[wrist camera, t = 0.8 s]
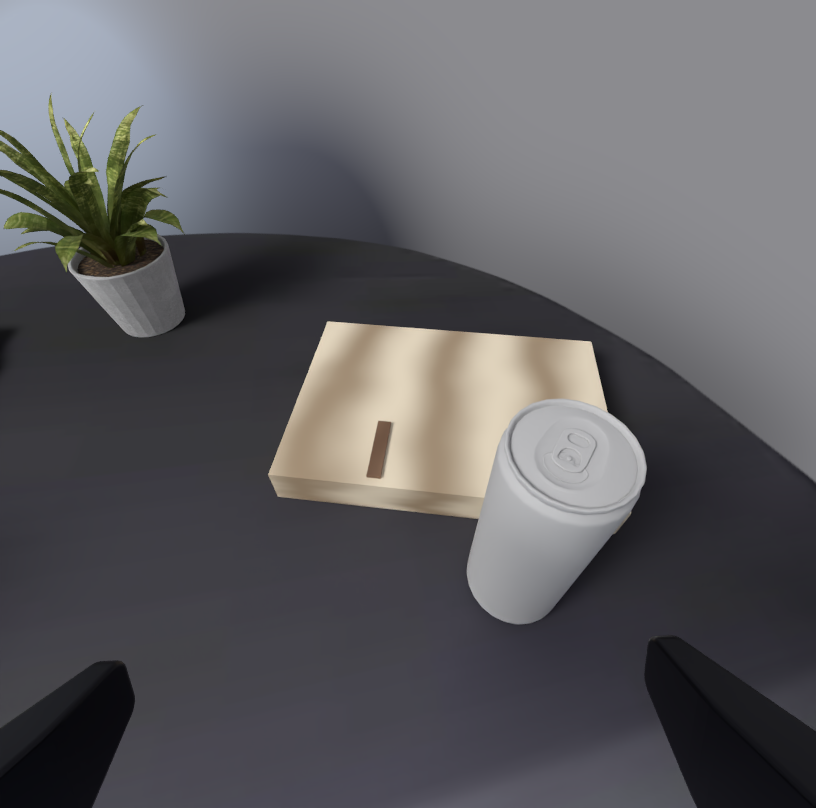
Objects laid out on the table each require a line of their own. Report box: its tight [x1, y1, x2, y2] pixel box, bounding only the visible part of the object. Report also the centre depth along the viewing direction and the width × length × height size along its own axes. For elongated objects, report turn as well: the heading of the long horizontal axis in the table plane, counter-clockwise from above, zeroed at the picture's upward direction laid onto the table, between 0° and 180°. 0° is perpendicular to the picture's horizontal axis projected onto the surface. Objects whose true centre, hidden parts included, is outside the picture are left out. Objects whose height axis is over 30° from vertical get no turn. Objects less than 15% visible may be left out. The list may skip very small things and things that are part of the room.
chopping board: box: [268, 322, 631, 534], centre depth 29 cm, size 20×14×3 cm
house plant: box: [0, 95, 185, 337], centre depth 32 cm, size 14×14×16 cm
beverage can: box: [467, 399, 647, 624], centre depth 19 cm, size 5×5×12 cm
